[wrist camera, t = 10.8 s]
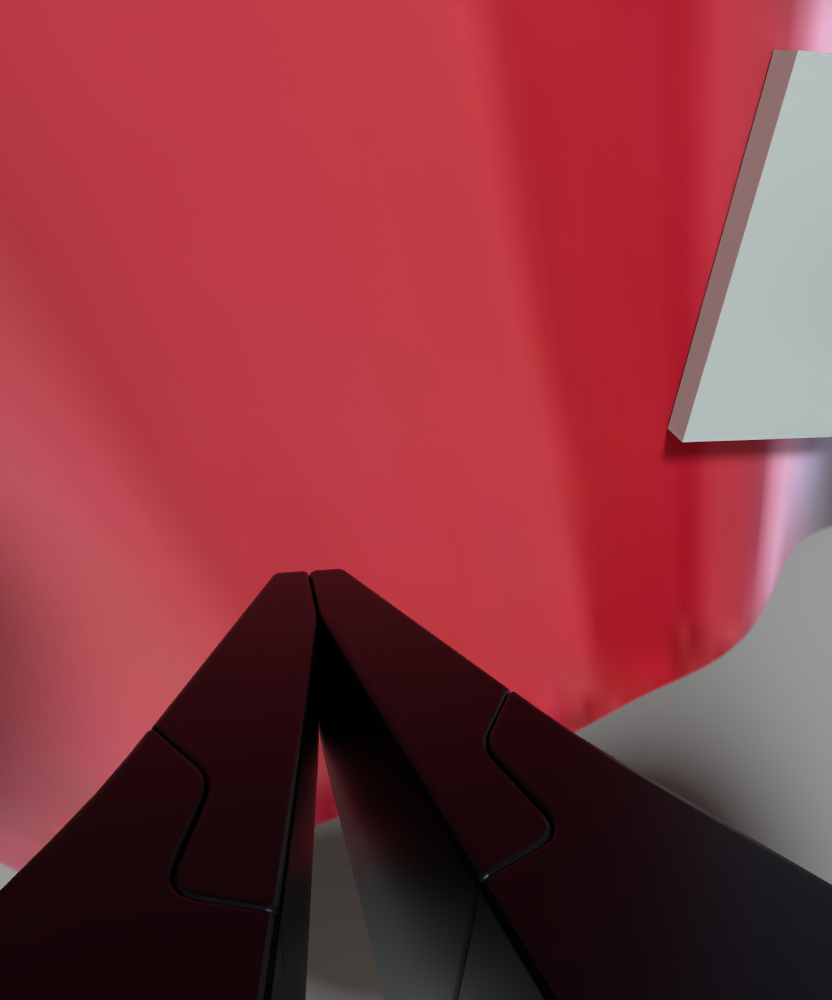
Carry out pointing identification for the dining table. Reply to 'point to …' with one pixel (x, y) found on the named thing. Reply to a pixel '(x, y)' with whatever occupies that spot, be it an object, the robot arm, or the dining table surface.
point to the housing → (771, 276)
